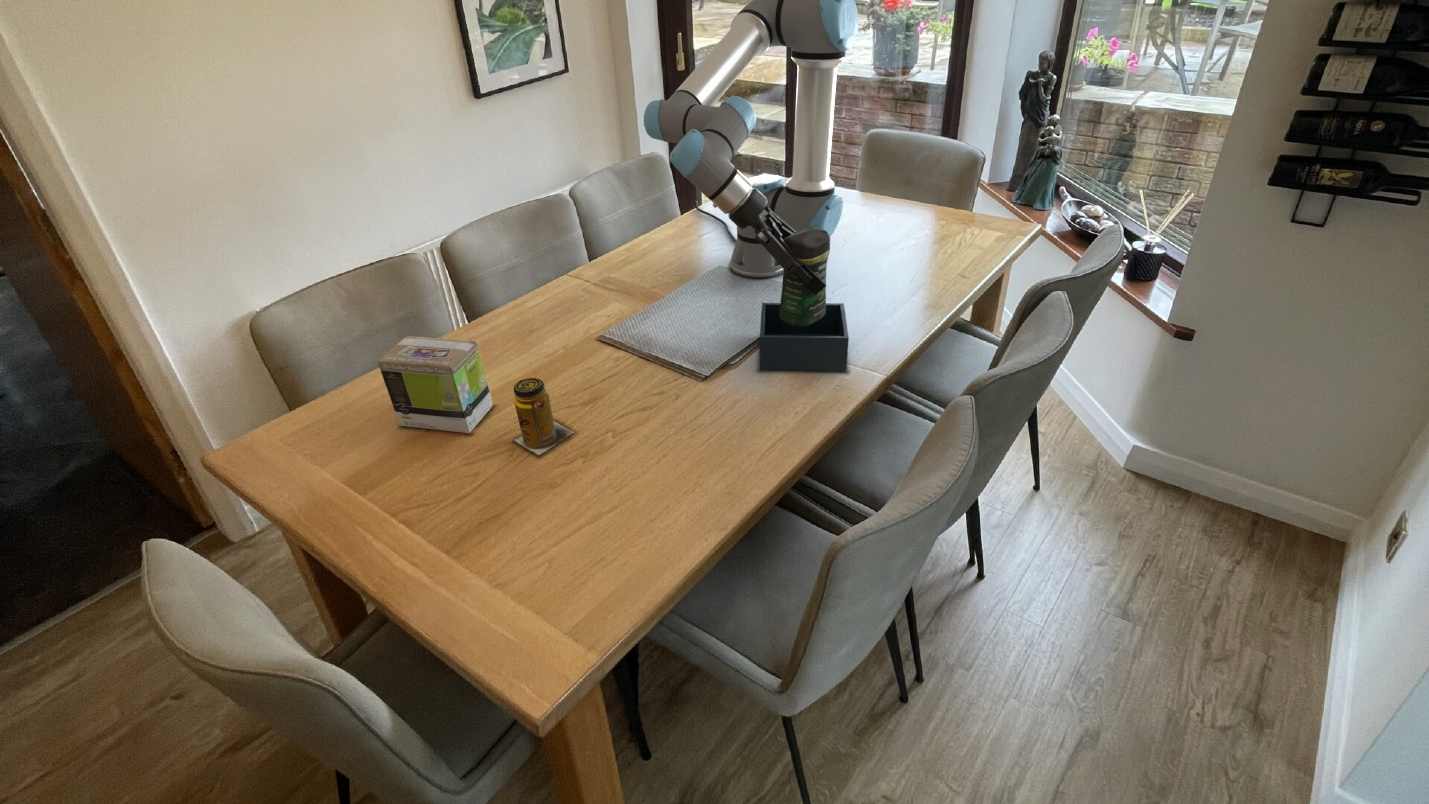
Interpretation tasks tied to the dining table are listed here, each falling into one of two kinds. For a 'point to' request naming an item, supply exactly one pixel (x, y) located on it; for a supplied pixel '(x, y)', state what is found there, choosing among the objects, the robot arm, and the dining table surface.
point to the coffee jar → (796, 296)
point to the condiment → (536, 417)
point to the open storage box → (804, 342)
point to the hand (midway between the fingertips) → (820, 278)
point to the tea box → (436, 383)
